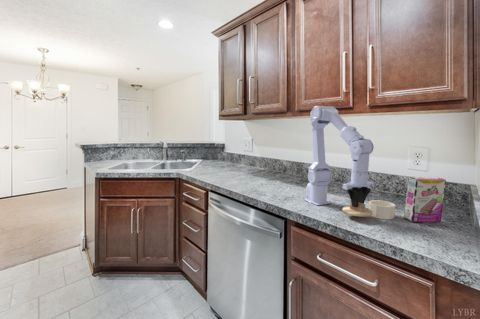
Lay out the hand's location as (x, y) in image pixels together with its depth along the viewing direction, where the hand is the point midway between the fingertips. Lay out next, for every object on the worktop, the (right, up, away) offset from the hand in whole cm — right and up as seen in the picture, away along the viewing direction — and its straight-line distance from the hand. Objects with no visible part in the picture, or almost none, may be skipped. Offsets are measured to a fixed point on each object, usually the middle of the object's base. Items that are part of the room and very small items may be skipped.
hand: (357, 206), depth 97 cm
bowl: (+11, -4, +3) cm, 12 cm away
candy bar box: (+24, -5, -2) cm, 24 cm away
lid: (0, -2, 0) cm, 2 cm away
